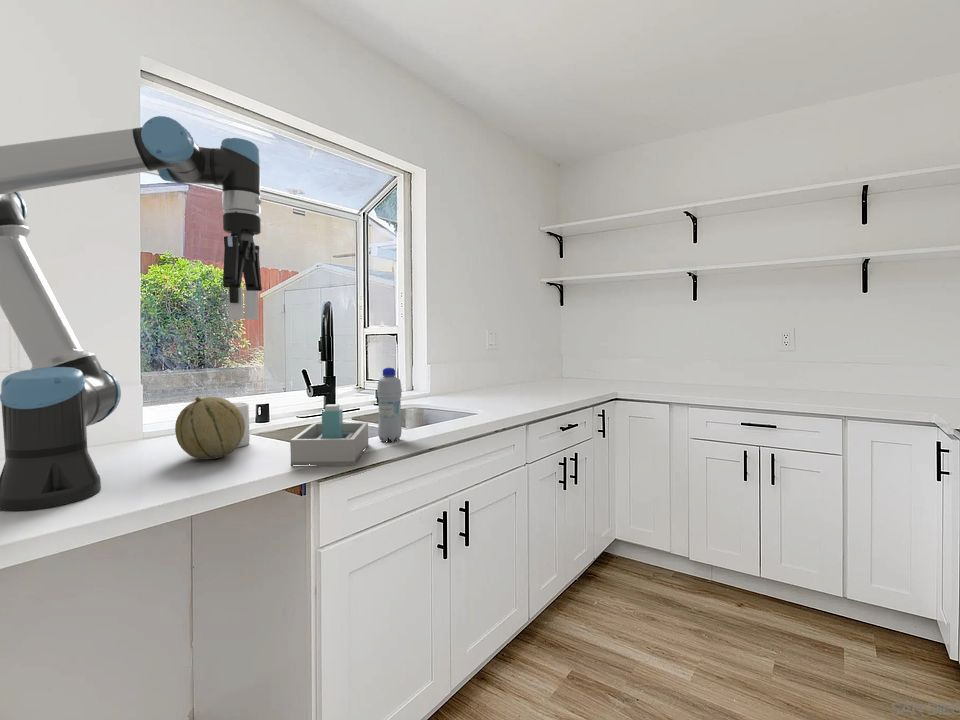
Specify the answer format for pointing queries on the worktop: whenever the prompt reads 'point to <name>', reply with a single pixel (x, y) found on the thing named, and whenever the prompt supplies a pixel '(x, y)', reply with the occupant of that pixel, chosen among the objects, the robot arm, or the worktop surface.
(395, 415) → the bottle
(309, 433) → the box
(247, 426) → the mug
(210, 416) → the cantaloupe
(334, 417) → the block
